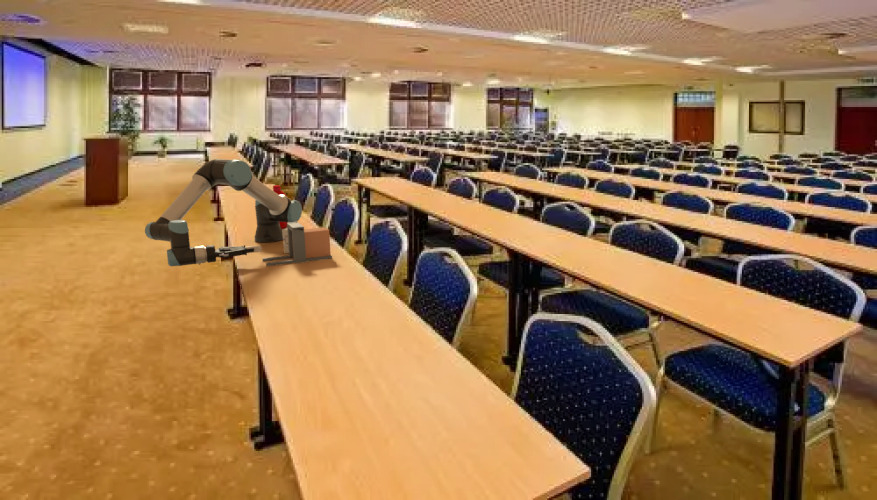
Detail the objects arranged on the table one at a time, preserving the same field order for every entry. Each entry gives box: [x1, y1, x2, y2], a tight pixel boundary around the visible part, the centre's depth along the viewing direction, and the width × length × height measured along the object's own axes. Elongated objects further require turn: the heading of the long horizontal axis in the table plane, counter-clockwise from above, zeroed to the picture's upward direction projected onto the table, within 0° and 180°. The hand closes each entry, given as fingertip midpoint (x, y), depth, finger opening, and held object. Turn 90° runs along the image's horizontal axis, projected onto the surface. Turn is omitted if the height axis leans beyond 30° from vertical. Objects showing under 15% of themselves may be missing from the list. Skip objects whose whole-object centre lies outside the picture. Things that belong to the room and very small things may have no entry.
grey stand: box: [261, 221, 333, 267], centre depth 283 cm, size 30×13×16 cm, turn 115°
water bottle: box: [272, 184, 289, 230], centre depth 357 cm, size 9×11×25 cm
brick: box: [292, 226, 332, 259], centre depth 286 cm, size 16×7×13 cm, turn 115°
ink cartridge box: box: [282, 221, 298, 254], centre depth 300 cm, size 9×5×15 cm, turn 168°
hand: (261, 248), depth 277 cm, fingers closed
